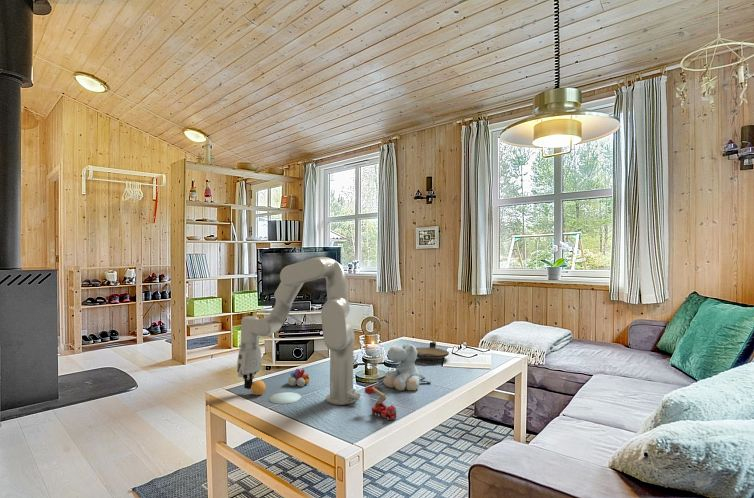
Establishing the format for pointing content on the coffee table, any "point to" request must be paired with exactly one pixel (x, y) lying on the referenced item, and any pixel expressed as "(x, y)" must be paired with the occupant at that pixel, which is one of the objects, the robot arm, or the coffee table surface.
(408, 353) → the hippo plush
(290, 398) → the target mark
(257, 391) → the ball
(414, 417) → the coffee table surface
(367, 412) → the coffee table surface
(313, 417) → the coffee table surface
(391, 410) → the toy fire truck
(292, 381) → the multicolored petal flower toy
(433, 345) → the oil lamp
